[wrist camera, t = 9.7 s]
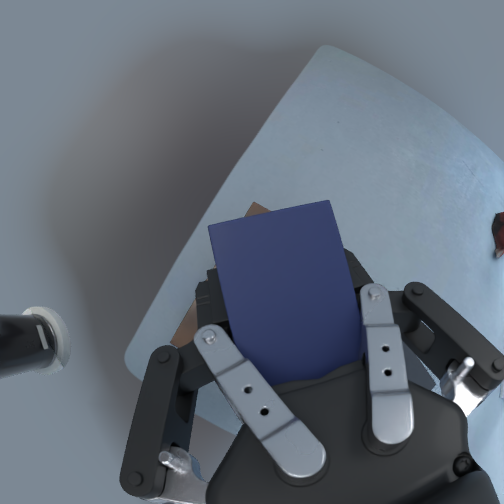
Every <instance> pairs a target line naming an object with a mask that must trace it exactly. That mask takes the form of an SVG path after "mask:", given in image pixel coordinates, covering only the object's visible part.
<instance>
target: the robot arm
mask: <svg viewBox="0 0 504 504" xmlns="http://www.w3.org/2000/svg"><path fill="white" fill-rule="evenodd" d="M344 252H345V255H346V259H347V263H348V267H349V271H350V275H351V279H352V283H353V287H354V291H355V295H356V300H357V304H358V308H359V313H360V318H361V330H362V337H361V344H360V348H359V352H358V361H355V362H352V363H349V364H346V365H343V366H340V367H338V368H336V369H335V370H333V371H332V372H330V373H328V374H326V375H325V376H323V377H321V378H319V379H309V380H293V381H289V382H285V383H281V384H278V385H273V386H271V387H270V385H269V384H268V383H267V382H266V380H265V379H264V378H263V376H262V375H261V374H260V373H259V371H258V370H257V369H256V368H255V366H254V365H253V364H252V362H251V361H250V360H249V359H248V358H246V359H245V358H244V357H243V355H242V354H241V353H240V351H239V350H238V349H237V347H236V346H235V345H234V341H233V337H232V332H231V328H230V324H229V320H228V316H227V312H226V307H225V303H224V299H223V294H222V290H221V286H220V281H219V277H218V272H217V268H215V269H211V270H207V277H208V281H204V282H199V284H198V286H197V288H196V290H195V292H196V311H197V326H198V330H197V332H196V333H195V335H194V339H193V340H192V341H191V342H189V343H188V344H186V345H184V346H182V347H180V348H178V349H176V348H175V347H173V346H170V345H165V346H161V347H159V348H157V349H156V350H155V351H154V352H153V353H152V354H151V356H150V359H149V363H148V366H147V369H146V373H145V376H144V380H143V384H142V387H141V391H140V394H139V398H138V402H137V405H136V409H135V413H134V417H133V421H132V425H131V429H130V433H129V437H128V441H127V445H126V450H125V454H124V458H123V463H122V467H121V472H120V484H121V486H122V488H123V489H124V491H126V492H127V493H128V494H130V495H132V496H135V497H139V498H140V499H143V500H147V501H151V502H154V503H162V504H175V503H177V504H500V502H499V500H498V497H497V494H496V492H495V489H494V487H493V484H492V482H491V480H490V477H489V476H488V474H487V473H486V472H485V471H484V470H483V469H482V468H481V467H480V466H479V465H478V464H477V463H476V462H475V461H474V459H473V458H472V456H471V454H470V452H469V447H468V437H467V433H468V423H467V418H466V417H467V416H468V415H469V414H470V413H471V412H472V411H473V410H474V409H475V408H476V407H478V406H479V405H480V404H481V403H482V402H483V401H484V400H485V399H486V398H487V397H488V396H489V395H490V394H491V393H492V392H493V391H494V390H495V389H496V388H497V386H498V385H499V384H500V383H501V382H502V381H503V380H504V355H503V354H502V353H501V352H500V351H499V350H497V349H496V348H495V347H494V346H493V345H492V344H491V343H490V342H489V341H488V340H487V339H486V338H485V337H484V336H483V335H482V334H481V333H480V332H479V331H478V330H476V329H475V328H474V327H473V326H472V325H471V324H470V323H469V322H468V321H467V320H465V319H464V318H463V317H462V316H461V315H460V314H459V313H458V312H456V311H455V310H454V309H453V308H452V307H451V306H450V305H448V304H447V303H446V302H445V301H444V300H443V299H441V298H440V297H439V296H438V295H437V294H436V293H434V292H433V291H432V290H431V289H430V288H428V287H427V286H426V285H424V284H423V283H420V282H411V283H408V284H407V285H406V286H405V288H404V291H387V289H386V288H385V287H384V286H382V285H380V284H376V283H374V282H373V280H372V279H371V278H370V276H369V275H368V273H367V272H366V271H365V269H364V268H363V267H362V266H361V264H360V262H359V261H357V258H356V257H355V256H354V254H353V253H352V252H350V251H348V250H347V249H345V248H344ZM421 321H423V322H424V323H425V324H426V325H427V326H428V327H429V328H430V329H431V330H432V331H433V332H434V333H433V332H432V331H431V330H430V329H429V328H428V327H427V326H426V325H425V324H424V323H423V322H421ZM402 341H403V342H404V343H405V344H406V345H407V346H408V347H409V348H410V349H411V350H412V351H413V352H414V353H415V354H416V355H417V356H418V358H419V359H420V360H421V361H422V362H423V363H424V364H425V365H426V366H427V367H428V368H429V369H430V370H431V371H432V372H433V373H434V374H435V376H436V377H437V378H438V379H439V380H440V388H441V394H442V396H441V395H439V394H437V393H435V392H432V391H430V390H428V389H426V388H424V387H422V386H420V385H418V384H416V383H414V382H412V381H410V380H408V379H407V373H406V365H405V358H404V351H403V345H402ZM56 356H57V339H56V335H55V332H54V330H53V327H52V326H51V324H50V323H49V321H48V320H47V319H46V318H44V317H43V316H41V315H39V314H30V315H0V379H2V378H6V377H10V376H14V375H18V374H22V373H25V372H29V371H34V370H37V369H42V368H47V367H49V366H51V365H52V364H53V362H54V361H55V359H56ZM212 381H215V382H216V384H217V385H218V387H219V389H220V390H221V392H222V393H223V395H224V396H225V398H226V399H227V401H228V403H229V404H230V406H231V407H232V409H233V411H234V412H235V414H236V415H237V417H238V418H239V420H240V421H241V423H242V424H243V425H242V427H241V429H240V431H239V432H238V434H237V436H236V438H235V439H234V441H233V443H232V445H231V446H230V448H229V450H228V452H227V453H226V455H225V457H224V459H223V460H222V462H221V463H220V465H219V467H218V468H217V470H216V472H215V473H214V475H213V477H212V478H211V480H210V482H206V481H205V480H204V479H203V478H202V476H201V473H200V465H199V462H198V460H197V459H196V458H195V457H194V456H192V455H191V454H189V453H188V451H189V444H190V437H191V431H192V425H193V418H194V412H195V406H196V400H197V394H198V388H200V387H202V386H204V385H206V384H208V383H210V382H212Z"/></svg>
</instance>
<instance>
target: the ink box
mask: <svg viewBox="0 0 504 504" xmlns="http://www.w3.org/2000/svg"><path fill="white" fill-rule="evenodd" d="M500 397H501V398H504V380H503V381H502V382H501V391H500Z"/></svg>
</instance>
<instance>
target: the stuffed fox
mask: <svg viewBox="0 0 504 504" xmlns="http://www.w3.org/2000/svg"><path fill="white" fill-rule="evenodd" d="M492 231H493V235H494V238H495V242H496V249H495V253H496V257H497V258H499V257H501V256H502V255H503V253H504V212H501V213H497V214H496V217H495V219H494V223H493V225H492Z"/></svg>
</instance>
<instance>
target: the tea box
mask: <svg viewBox="0 0 504 504" xmlns="http://www.w3.org/2000/svg"><path fill="white" fill-rule="evenodd" d="M208 230H209V235H210V240H211V244H212V249H213V254H214V258H215V263H216V268H217V272H218V277H219V281H220V286H221V290H222V294H223V299H224V303H225V307H226V312H227V316H228V320H229V324H230V328H231V332H232V337H233V341H234V345H235V346H236V347H237V349H238V350H239V351H240V353H241V354H242V355H243V357H244V358H245V359H246V358H248V359H249V360H250V361H251V362H252V364H253V365H254V366H255V368H256V369H257V370H258V371H259V373H260V374H261V375H262V376H263V378H264V379H265V380H266V382H267V383H268V384H269V385H270V387H271V386H273V385H278V384H281V383H285V382H289V381H293V380H309V379H319V378H321V377H323V376H325V375H326V374H328V373H330V372H332V371H333V370H335V369H336V368H338V367H340V366H343V365H346V364H349V363H352V362H355V361H358V352H359V348H360V344H361V337H362V330H361V318H360V313H359V308H358V304H357V300H356V295H355V291H354V287H353V283H352V279H351V275H350V271H349V267H348V263H347V259H346V255H345V252H344V248H343V244H342V241H341V237H340V234H339V230H338V227H337V224H336V220H335V217H334V214H333V210H332V207H331V204H330V201H329V200H325V201H320V202H315V203H310V204H305V205H300V206H295V207H290V208H285V209H281V210H276V211H271V212H266V213H262V214H257V215H253V216H248V217H244V218H239V219H235V220H230V221H226V222H221V223H217V224H213V225H209V226H208Z"/></svg>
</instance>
